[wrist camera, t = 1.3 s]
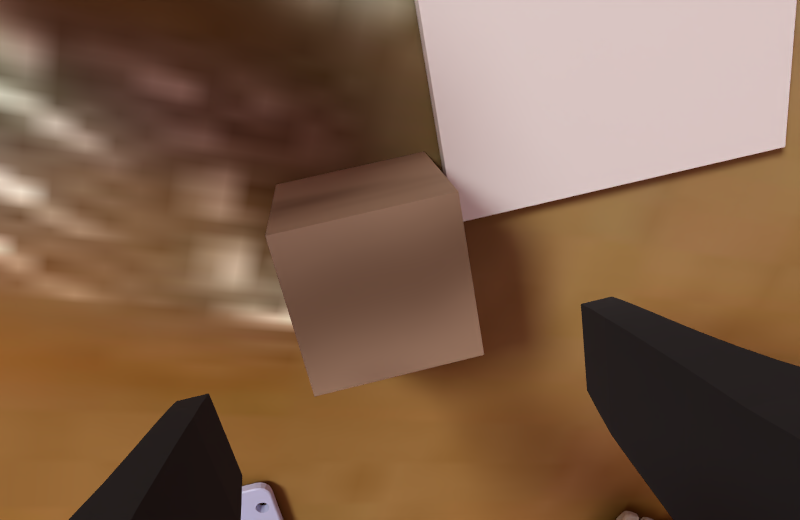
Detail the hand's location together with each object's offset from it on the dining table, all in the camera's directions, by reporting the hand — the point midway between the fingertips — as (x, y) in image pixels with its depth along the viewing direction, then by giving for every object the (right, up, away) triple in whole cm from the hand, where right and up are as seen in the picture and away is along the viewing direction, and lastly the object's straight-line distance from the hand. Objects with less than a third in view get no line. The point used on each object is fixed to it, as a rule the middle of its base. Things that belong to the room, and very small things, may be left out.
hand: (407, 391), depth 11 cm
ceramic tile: (+6, +11, +7) cm, 14 cm away
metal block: (-1, +3, +9) cm, 10 cm away
